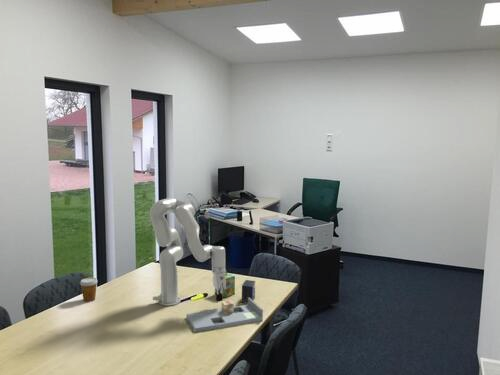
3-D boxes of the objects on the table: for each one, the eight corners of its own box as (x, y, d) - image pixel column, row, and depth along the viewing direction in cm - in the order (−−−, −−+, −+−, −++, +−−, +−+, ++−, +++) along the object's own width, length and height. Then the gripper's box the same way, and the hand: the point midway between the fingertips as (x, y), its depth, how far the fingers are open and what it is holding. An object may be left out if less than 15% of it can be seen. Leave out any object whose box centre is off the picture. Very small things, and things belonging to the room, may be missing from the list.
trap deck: (195, 332, 193) (195, 320, 193) (186, 317, 210) (186, 306, 209) (262, 320, 207) (262, 309, 207) (249, 307, 224) (249, 297, 223)
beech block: (224, 314, 210) (224, 304, 210) (221, 310, 215) (221, 301, 214) (233, 312, 212) (233, 303, 212) (230, 309, 217) (230, 300, 216)
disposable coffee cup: (101, 297, 238) (100, 277, 236) (93, 303, 228) (92, 283, 227) (85, 296, 238) (85, 277, 237) (77, 302, 229) (76, 282, 228)
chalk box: (225, 298, 238) (225, 274, 237) (214, 294, 244) (214, 271, 242) (235, 294, 245) (235, 270, 244) (224, 290, 251) (224, 267, 249)
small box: (252, 304, 230) (252, 286, 229) (241, 303, 231) (241, 285, 230) (255, 297, 240) (255, 280, 239) (245, 296, 241) (245, 279, 240)
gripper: (229, 271, 216) (229, 304, 218) (220, 264, 230) (221, 295, 232) (216, 273, 214) (216, 306, 215) (208, 266, 227) (208, 297, 229)
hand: (219, 300), depth 224 cm, fingers closed
